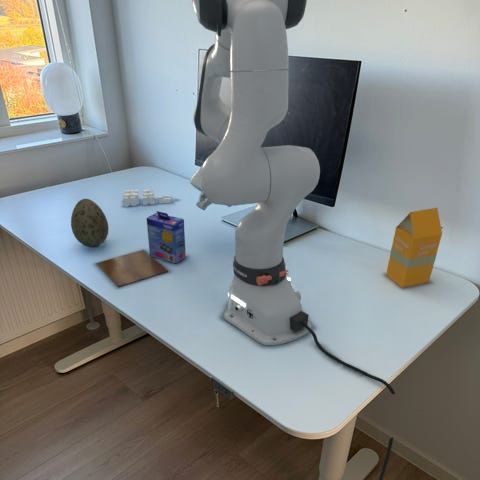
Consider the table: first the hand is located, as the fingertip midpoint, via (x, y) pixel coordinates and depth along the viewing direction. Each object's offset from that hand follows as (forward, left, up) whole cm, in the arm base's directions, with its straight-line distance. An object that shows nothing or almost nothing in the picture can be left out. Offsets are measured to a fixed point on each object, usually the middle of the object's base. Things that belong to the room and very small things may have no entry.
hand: (199, 208), depth 137 cm
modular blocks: (+45, +1, -13) cm, 47 cm away
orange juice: (-46, -41, -13) cm, 63 cm away
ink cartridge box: (-1, +12, -13) cm, 18 cm away
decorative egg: (+18, +29, -13) cm, 37 cm away
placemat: (-2, +23, -13) cm, 27 cm away
